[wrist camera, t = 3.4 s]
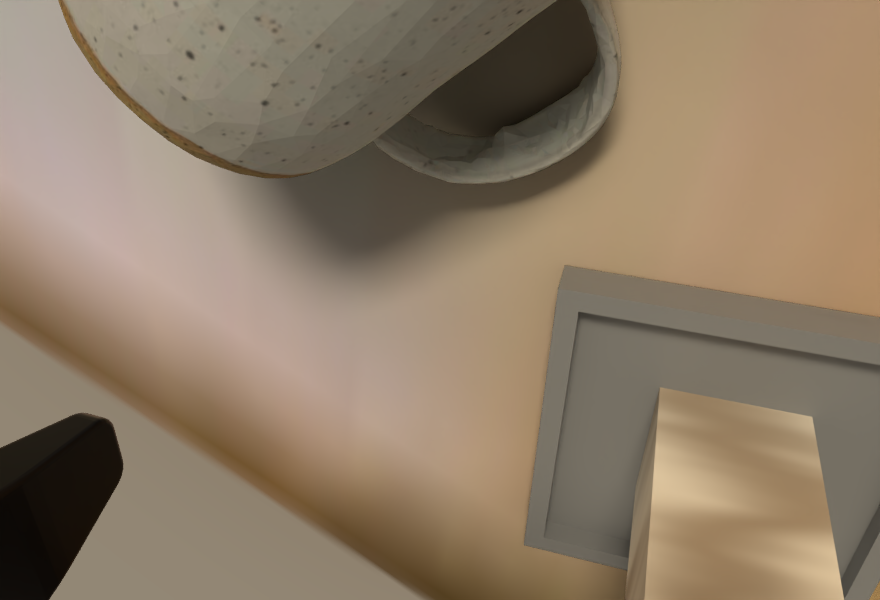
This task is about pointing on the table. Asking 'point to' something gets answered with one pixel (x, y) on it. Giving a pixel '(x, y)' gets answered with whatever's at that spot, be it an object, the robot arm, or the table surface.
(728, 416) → the tan rectangular block
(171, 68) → the ceramic mug
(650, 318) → the tray
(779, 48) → the table surface
